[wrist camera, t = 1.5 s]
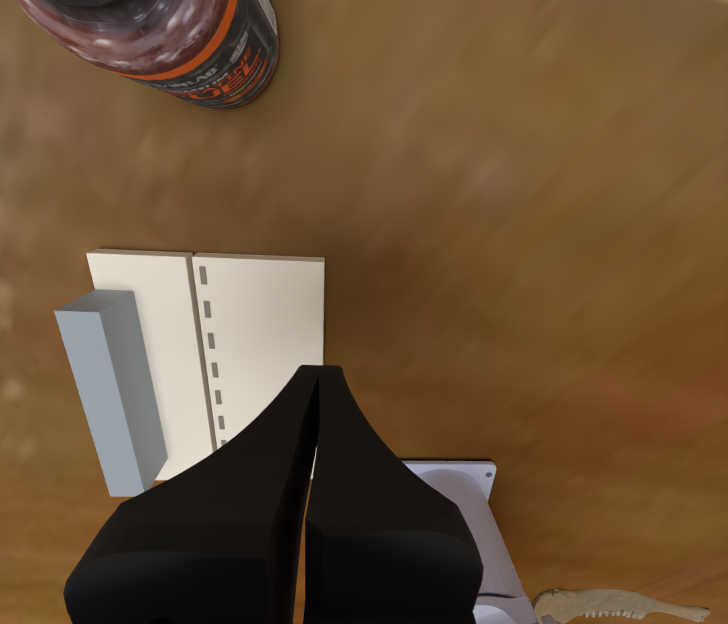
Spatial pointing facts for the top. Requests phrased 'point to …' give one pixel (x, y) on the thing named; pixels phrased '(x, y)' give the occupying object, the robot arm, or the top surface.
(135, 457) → the stub
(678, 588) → the top surface
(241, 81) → the supplement bottle
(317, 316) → the ticket
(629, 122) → the top surface
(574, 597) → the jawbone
